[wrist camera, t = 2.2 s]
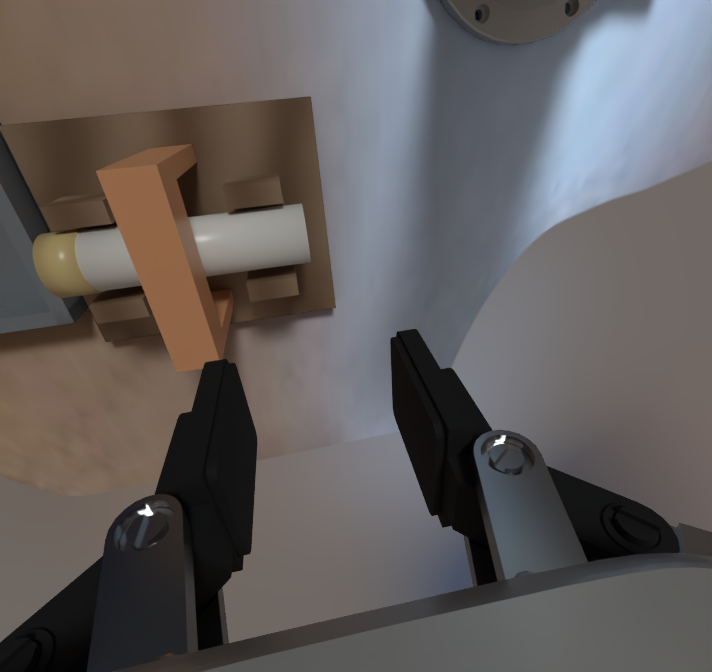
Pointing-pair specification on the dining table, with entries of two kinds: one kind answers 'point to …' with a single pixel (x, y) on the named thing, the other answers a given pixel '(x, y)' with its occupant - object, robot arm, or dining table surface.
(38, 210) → the tray
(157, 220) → the orange bracket
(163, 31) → the dining table surface
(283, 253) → the yellow-tipped white cylinder
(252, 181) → the cradle board
